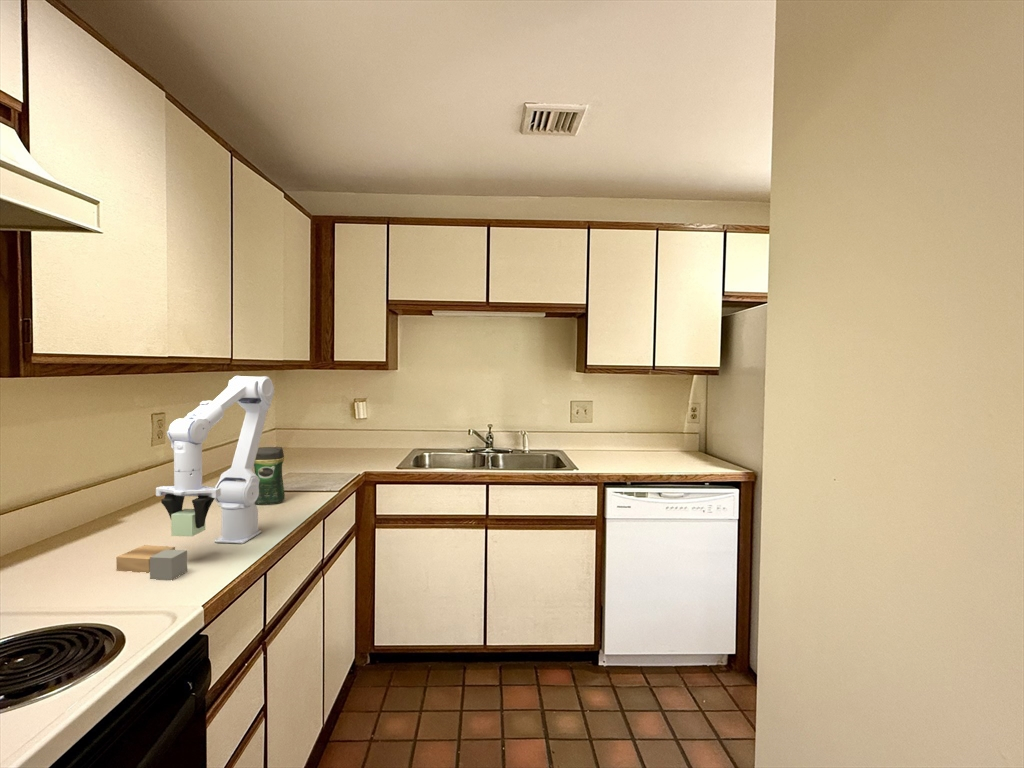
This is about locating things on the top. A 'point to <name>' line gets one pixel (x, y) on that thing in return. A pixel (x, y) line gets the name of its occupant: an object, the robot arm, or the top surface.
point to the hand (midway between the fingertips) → (188, 526)
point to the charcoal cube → (168, 564)
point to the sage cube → (184, 523)
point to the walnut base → (139, 558)
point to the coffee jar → (269, 475)
